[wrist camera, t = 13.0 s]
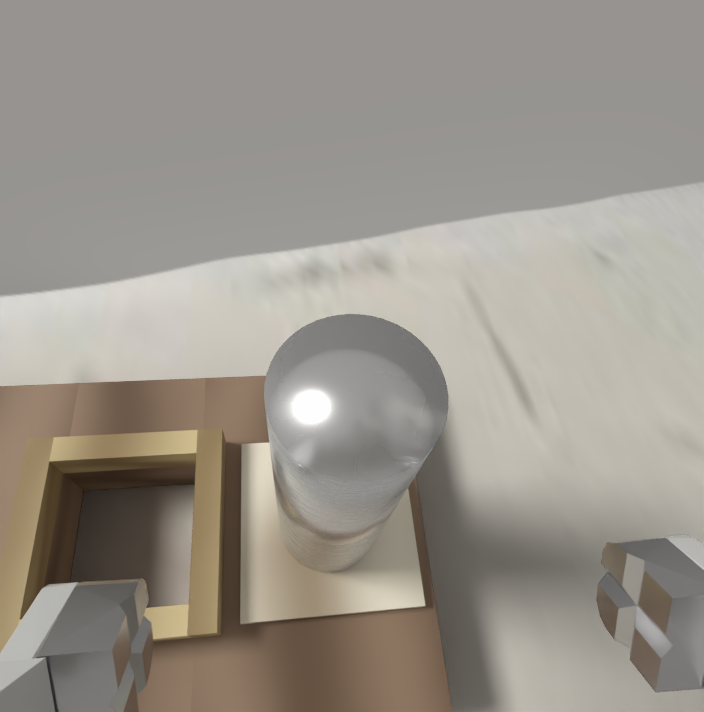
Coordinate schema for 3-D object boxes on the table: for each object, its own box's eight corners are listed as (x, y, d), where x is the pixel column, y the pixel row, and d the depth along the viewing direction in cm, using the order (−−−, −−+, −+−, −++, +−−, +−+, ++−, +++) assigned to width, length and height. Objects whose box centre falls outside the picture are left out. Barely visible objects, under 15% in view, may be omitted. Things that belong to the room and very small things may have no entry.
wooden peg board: (391, 392, 29) (404, 354, 25) (436, 707, 22) (463, 714, 18) (-109, 415, 26) (-172, 375, 22) (-241, 789, 19) (-363, 816, 15)
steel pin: (371, 469, 23) (431, 312, 13) (382, 568, 21) (464, 474, 11) (277, 475, 23) (262, 316, 12) (280, 577, 21) (265, 487, 11)
